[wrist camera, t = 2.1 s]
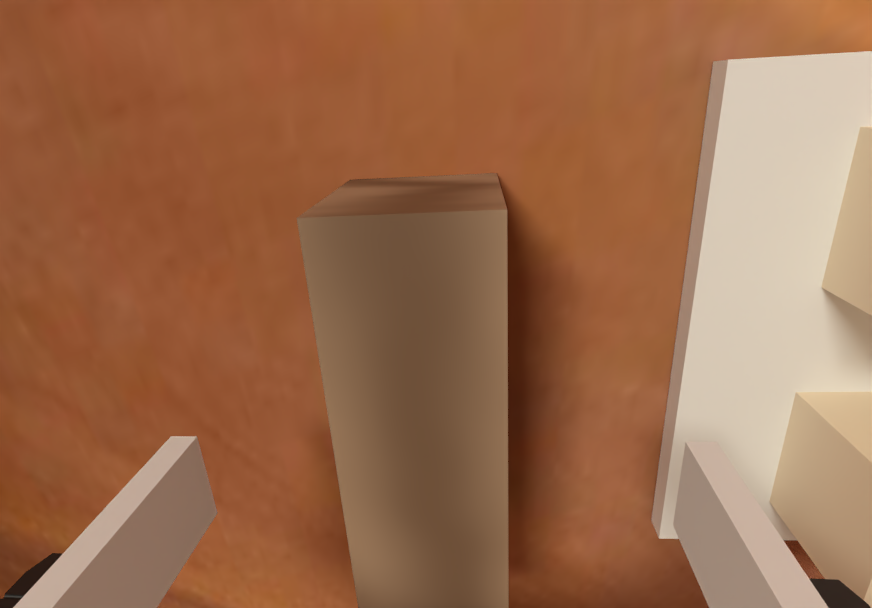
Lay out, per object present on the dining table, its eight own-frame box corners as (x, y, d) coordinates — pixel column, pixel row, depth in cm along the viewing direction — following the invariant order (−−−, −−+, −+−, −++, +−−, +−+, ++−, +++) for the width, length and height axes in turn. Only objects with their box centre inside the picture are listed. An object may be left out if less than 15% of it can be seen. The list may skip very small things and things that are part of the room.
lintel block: (387, 496, 23) (360, 623, 18) (351, 179, 18) (296, 217, 12) (500, 496, 23) (508, 626, 17) (496, 172, 17) (507, 209, 12)
